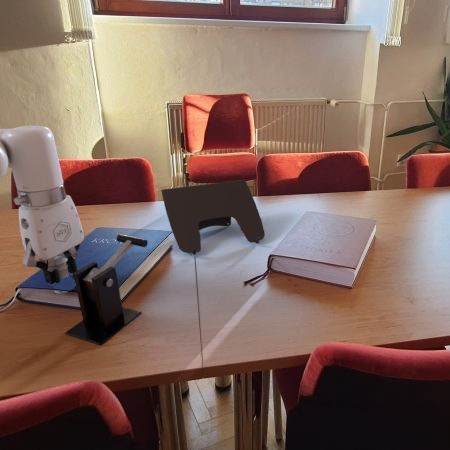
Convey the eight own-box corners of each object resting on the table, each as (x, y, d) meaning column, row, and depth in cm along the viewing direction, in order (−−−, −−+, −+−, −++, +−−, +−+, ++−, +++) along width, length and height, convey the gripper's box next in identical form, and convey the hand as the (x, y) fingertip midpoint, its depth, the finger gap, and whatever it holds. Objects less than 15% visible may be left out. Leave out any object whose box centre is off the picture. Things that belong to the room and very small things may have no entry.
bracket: (108, 307, 85) (98, 253, 80) (142, 317, 82) (133, 261, 78) (66, 338, 77) (51, 279, 72) (102, 350, 74) (89, 289, 69)
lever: (124, 239, 85) (119, 230, 83) (149, 245, 83) (145, 236, 81) (80, 286, 76) (73, 277, 75) (107, 293, 74) (101, 284, 73)
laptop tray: (178, 276, 107) (178, 253, 101) (161, 207, 120) (160, 183, 114) (267, 259, 116) (272, 237, 109) (242, 196, 129) (246, 173, 122)
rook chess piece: (80, 284, 92) (73, 250, 89) (74, 296, 88) (66, 260, 85) (57, 286, 92) (49, 251, 88) (50, 298, 87) (41, 262, 84)
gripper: (16, 213, 73) (41, 306, 81) (93, 184, 87) (108, 265, 95) (-15, 207, 76) (12, 297, 83) (64, 179, 90) (81, 259, 97)
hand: (63, 280), depth 89 cm, fingers closed on rook chess piece, 3 cm apart
